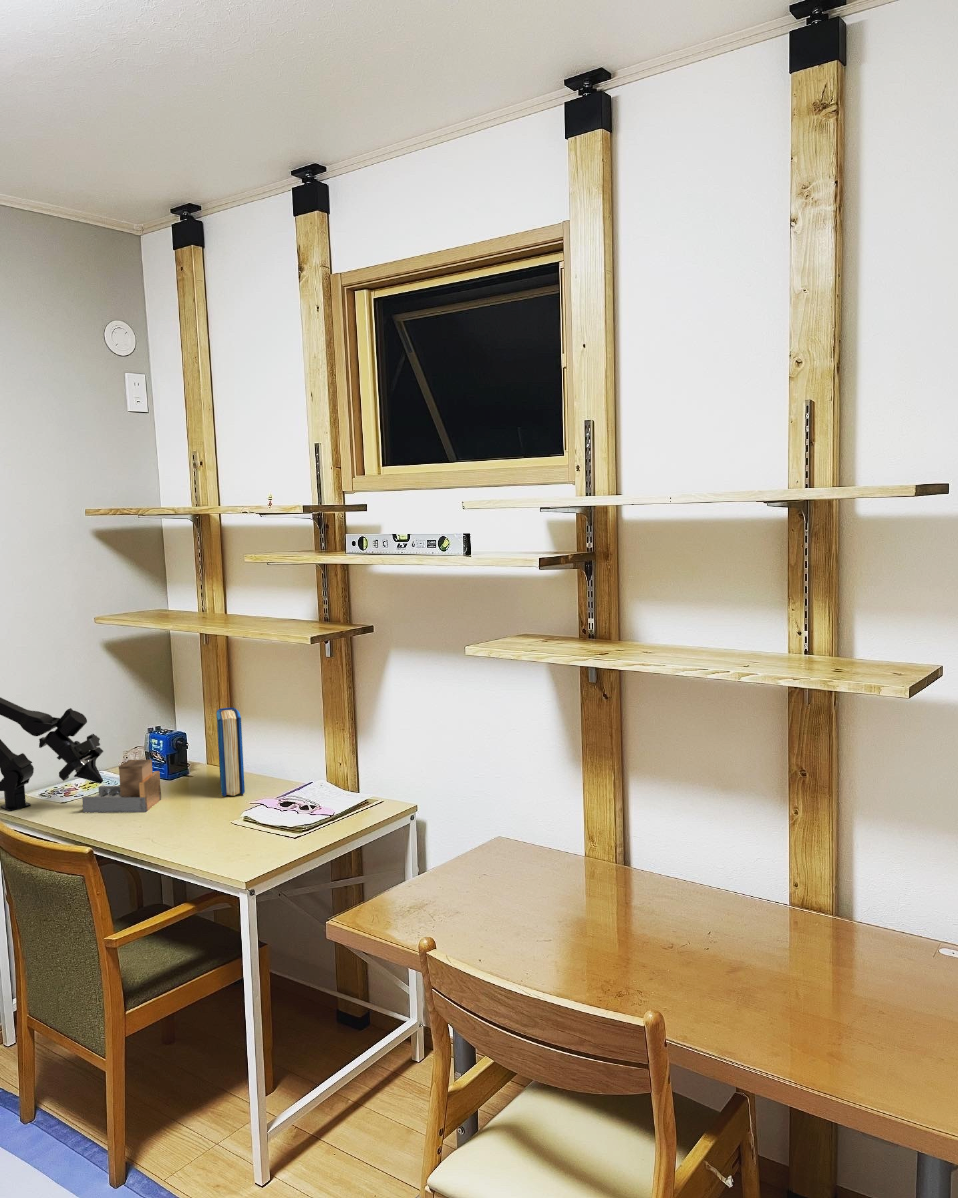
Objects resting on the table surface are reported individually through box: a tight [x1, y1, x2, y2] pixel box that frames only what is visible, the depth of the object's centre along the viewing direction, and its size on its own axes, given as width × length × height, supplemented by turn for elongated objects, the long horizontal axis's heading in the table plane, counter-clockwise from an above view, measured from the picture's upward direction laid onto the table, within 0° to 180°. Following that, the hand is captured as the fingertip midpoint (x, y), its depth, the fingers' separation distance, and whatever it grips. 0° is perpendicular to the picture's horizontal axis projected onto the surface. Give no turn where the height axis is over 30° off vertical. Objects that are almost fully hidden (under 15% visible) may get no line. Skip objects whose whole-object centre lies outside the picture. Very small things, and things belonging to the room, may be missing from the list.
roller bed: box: [82, 770, 162, 814], centre depth 290 cm, size 19×12×9 cm, turn 87°
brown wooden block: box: [118, 759, 153, 796], centre depth 289 cm, size 7×8×10 cm
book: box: [216, 707, 246, 797], centre depth 305 cm, size 22×7×25 cm, turn 17°
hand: (101, 782), depth 290 cm, fingers closed
